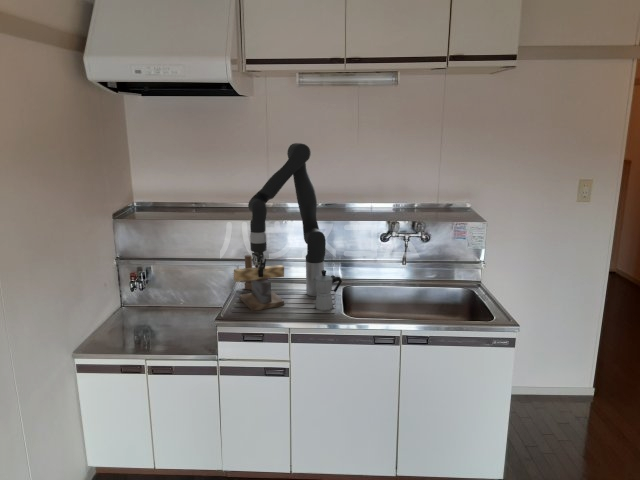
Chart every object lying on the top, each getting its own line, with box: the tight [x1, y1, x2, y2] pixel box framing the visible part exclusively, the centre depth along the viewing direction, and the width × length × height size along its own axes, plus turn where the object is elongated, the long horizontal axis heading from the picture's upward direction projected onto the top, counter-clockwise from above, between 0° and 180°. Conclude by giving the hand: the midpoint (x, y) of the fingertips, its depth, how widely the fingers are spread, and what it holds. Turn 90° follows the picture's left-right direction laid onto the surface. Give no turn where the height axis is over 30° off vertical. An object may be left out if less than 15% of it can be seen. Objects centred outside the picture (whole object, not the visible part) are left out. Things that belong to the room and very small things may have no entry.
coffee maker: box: [310, 269, 343, 312], centre depth 226 cm, size 15×9×18 cm, turn 101°
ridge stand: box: [239, 278, 285, 312], centre depth 234 cm, size 16×18×12 cm
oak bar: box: [233, 264, 285, 282], centre depth 232 cm, size 24×4×5 cm, turn 116°
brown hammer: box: [244, 254, 262, 291], centre depth 250 cm, size 4×11×18 cm, turn 68°
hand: (259, 275), depth 232 cm, fingers closed on oak bar, 3 cm apart
